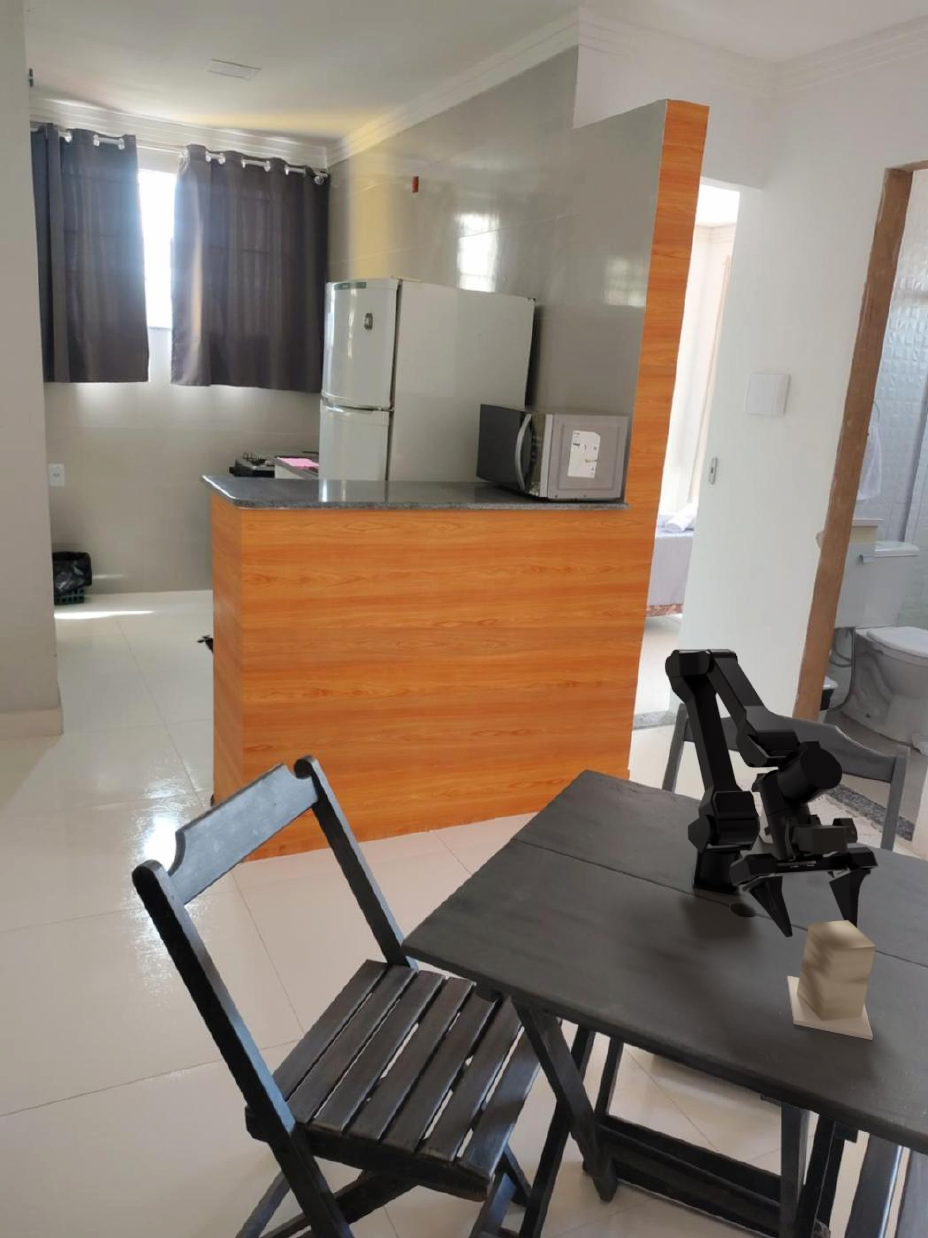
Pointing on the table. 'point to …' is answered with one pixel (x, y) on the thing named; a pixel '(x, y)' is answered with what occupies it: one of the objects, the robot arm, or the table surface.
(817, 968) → the brass block
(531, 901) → the table surface
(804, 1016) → the cream tile
